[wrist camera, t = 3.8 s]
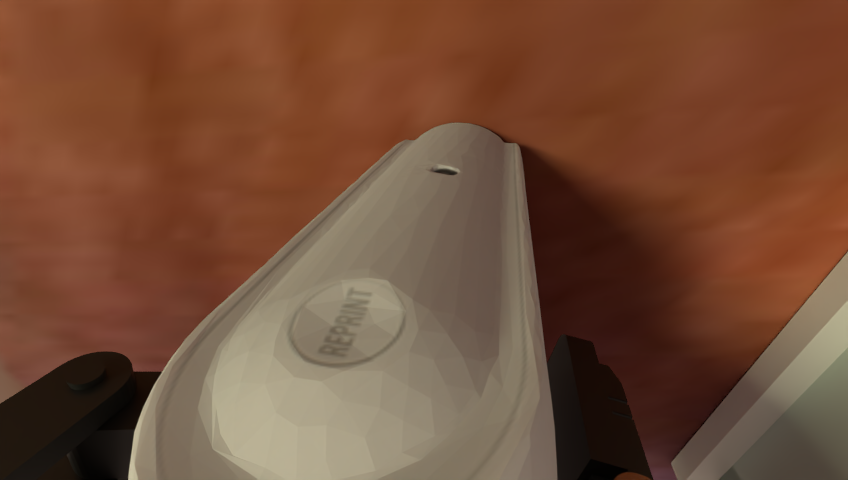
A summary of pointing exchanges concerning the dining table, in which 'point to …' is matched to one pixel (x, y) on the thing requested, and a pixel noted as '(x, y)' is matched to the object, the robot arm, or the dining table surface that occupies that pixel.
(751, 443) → the printer dock
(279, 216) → the dining table surface
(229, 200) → the dining table surface
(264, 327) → the photo printer
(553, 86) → the dining table surface
